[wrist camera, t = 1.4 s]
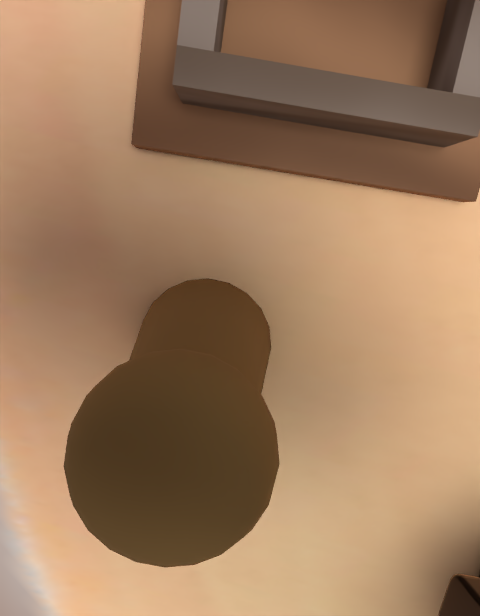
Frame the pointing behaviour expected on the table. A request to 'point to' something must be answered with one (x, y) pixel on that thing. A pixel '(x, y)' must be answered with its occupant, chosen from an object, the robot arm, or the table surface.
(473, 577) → the robot arm
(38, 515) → the table surface
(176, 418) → the cork
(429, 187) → the shaker holder
